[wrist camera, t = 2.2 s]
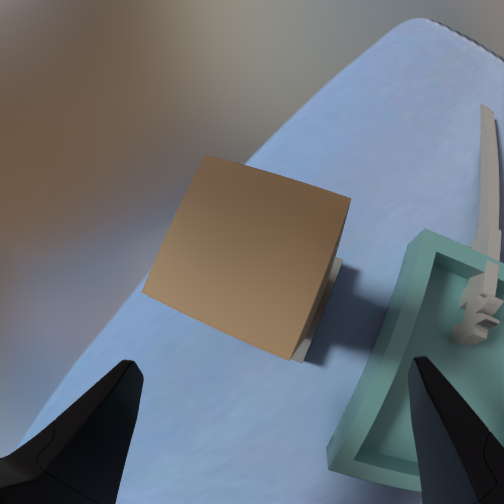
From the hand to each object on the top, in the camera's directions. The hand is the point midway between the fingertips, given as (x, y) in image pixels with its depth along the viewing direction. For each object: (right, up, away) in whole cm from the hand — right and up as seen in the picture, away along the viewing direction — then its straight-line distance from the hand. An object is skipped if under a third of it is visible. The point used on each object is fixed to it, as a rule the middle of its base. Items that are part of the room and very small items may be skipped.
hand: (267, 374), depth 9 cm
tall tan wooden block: (+2, +1, +10) cm, 11 cm away
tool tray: (+13, -5, +7) cm, 16 cm away
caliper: (+16, +7, +10) cm, 20 cm away
